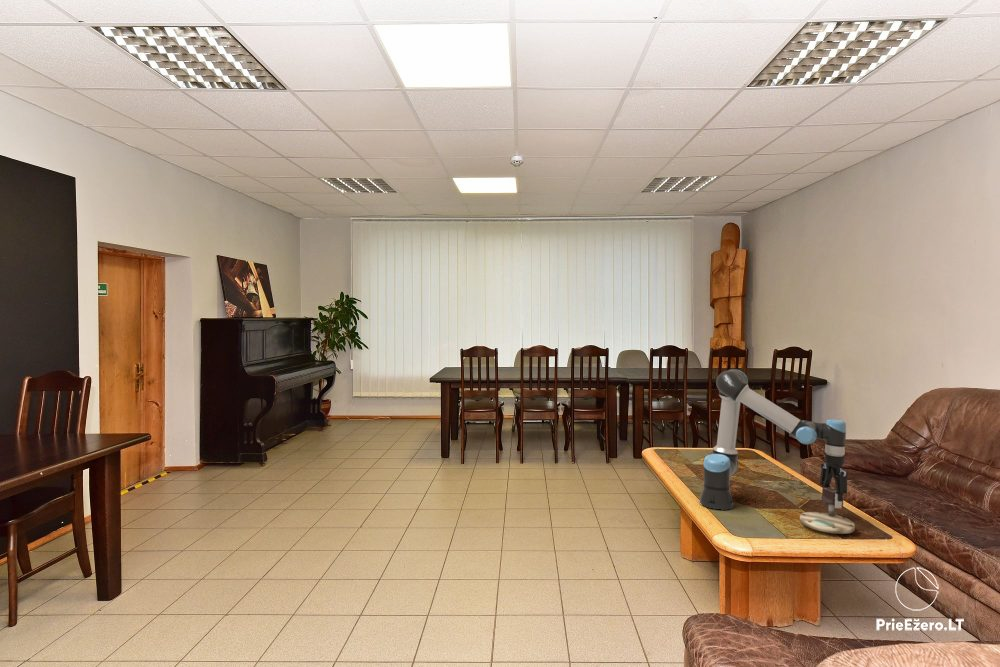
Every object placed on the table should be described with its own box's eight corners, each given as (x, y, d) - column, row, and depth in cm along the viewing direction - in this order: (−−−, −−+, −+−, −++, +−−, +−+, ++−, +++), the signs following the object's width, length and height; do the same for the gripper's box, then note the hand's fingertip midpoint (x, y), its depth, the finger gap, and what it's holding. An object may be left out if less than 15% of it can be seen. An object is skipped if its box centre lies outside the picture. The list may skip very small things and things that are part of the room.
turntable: (848, 537, 218) (848, 521, 218) (793, 524, 232) (793, 509, 232) (859, 524, 232) (859, 509, 232) (807, 513, 246) (807, 498, 246)
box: (832, 508, 241) (833, 492, 240) (821, 503, 246) (821, 488, 246) (843, 507, 242) (844, 491, 242) (831, 503, 248) (832, 487, 248)
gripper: (859, 460, 234) (856, 512, 235) (826, 448, 254) (824, 497, 255) (843, 460, 233) (840, 513, 234) (812, 449, 253) (809, 497, 254)
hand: (832, 504), depth 244 cm, fingers closed on box, 7 cm apart
